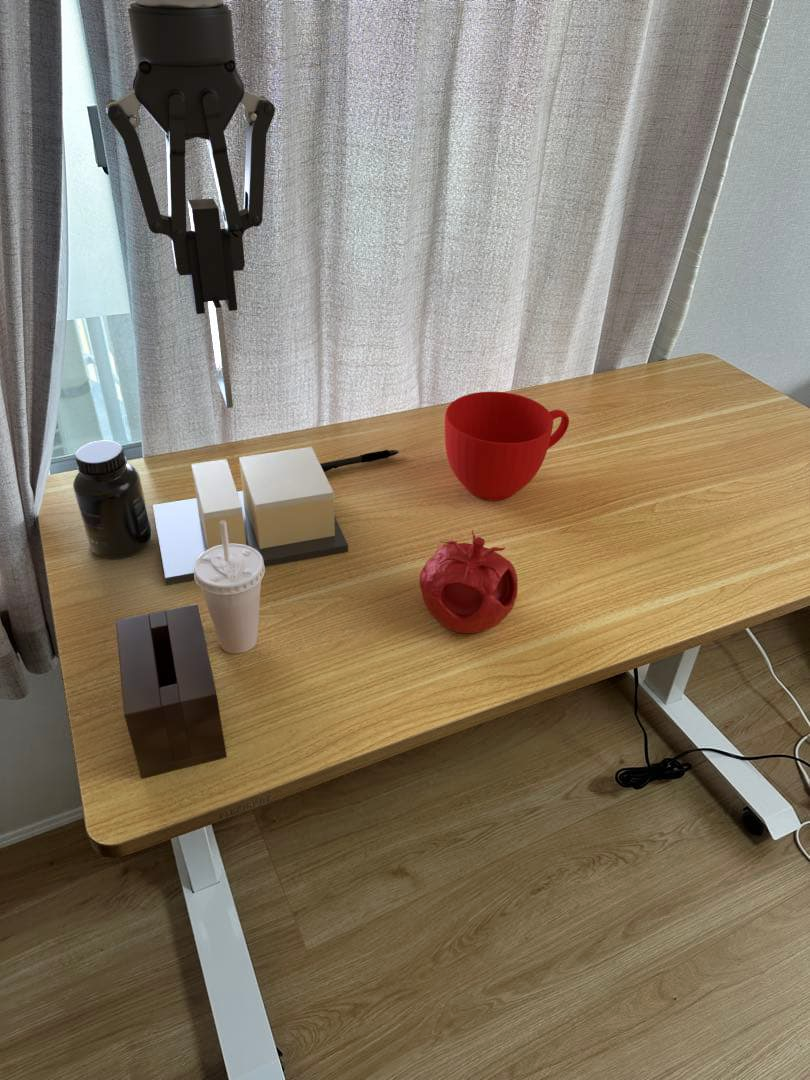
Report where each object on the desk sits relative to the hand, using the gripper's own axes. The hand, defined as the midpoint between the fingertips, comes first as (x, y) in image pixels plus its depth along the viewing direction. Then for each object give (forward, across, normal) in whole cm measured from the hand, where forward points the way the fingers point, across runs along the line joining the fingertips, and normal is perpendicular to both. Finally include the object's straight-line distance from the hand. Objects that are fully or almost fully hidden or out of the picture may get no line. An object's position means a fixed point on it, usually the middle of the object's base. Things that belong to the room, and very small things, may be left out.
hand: (215, 306), depth 74 cm
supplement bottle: (+28, +13, -4) cm, 31 cm away
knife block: (+28, +10, +23) cm, 38 cm away
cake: (+28, -6, -2) cm, 29 cm away
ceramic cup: (+28, -34, -3) cm, 44 cm away
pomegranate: (+28, -20, +18) cm, 39 cm away
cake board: (+28, -1, -2) cm, 28 cm away
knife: (+9, 0, 0) cm, 9 cm away
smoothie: (+28, +3, +15) cm, 32 cm away
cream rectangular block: (+27, +2, -2) cm, 27 cm away
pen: (+28, -16, -12) cm, 34 cm away
